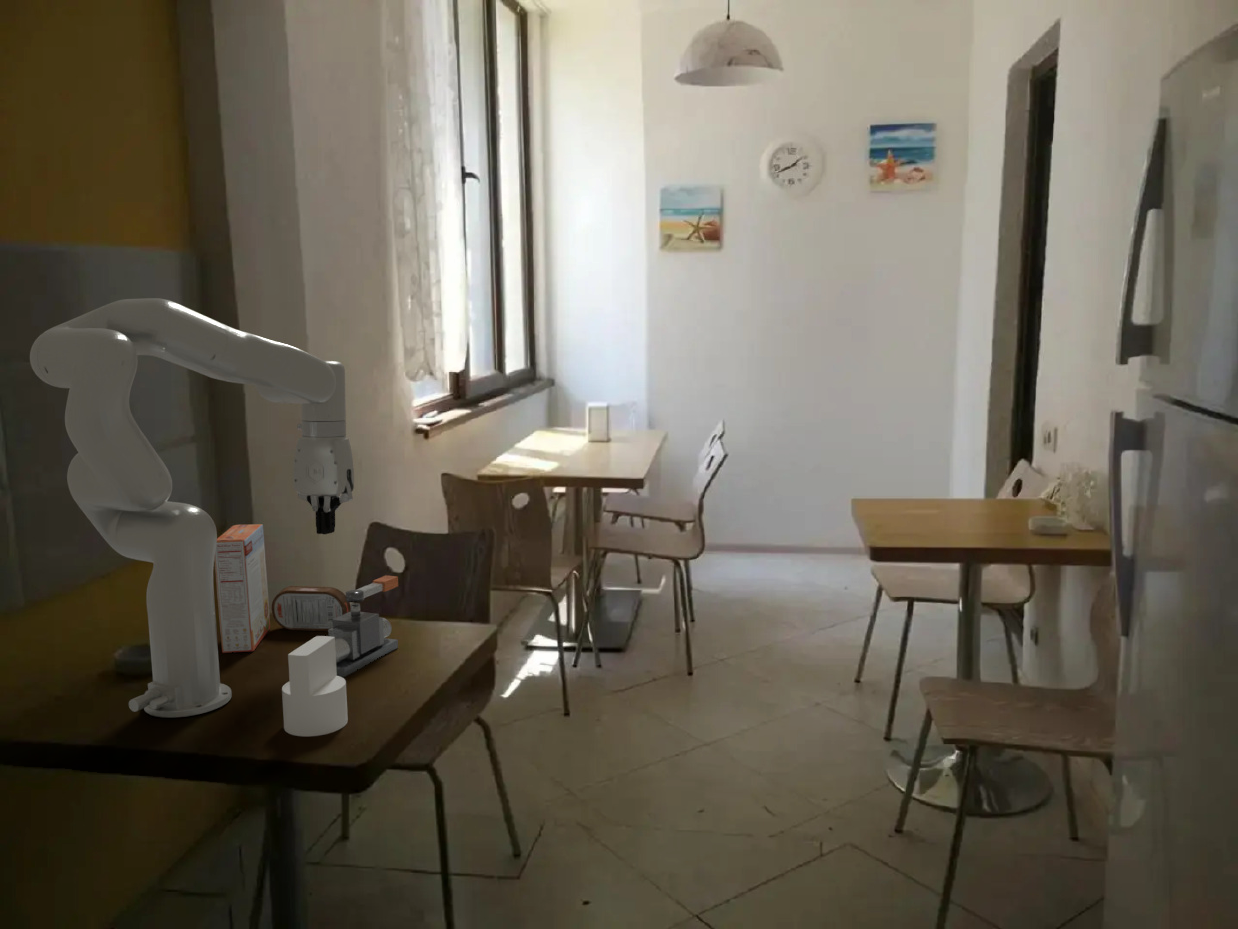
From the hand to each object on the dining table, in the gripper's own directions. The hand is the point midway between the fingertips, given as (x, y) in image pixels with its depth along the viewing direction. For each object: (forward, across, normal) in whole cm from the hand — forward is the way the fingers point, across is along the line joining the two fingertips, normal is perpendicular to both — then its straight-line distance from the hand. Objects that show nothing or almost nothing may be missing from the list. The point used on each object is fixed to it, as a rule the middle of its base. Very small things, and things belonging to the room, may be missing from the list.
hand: (325, 532), depth 181 cm
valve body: (+21, +9, -3) cm, 23 cm away
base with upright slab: (+23, +19, -30) cm, 42 cm away
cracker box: (+22, -17, -1) cm, 28 cm away
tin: (+21, -10, +9) cm, 25 cm away
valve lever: (+11, +9, +1) cm, 14 cm away
